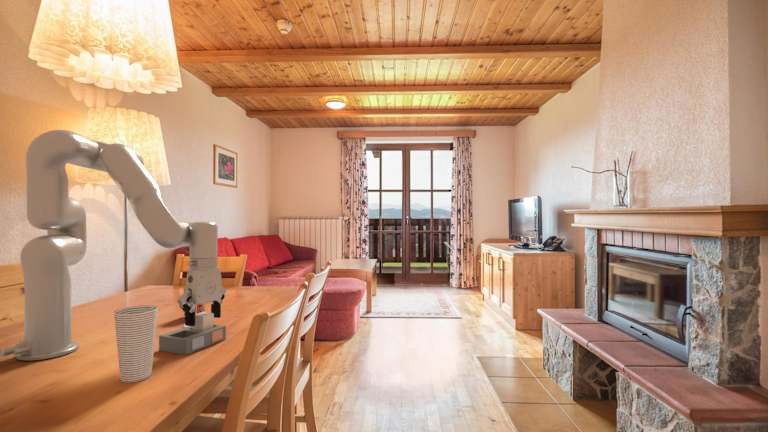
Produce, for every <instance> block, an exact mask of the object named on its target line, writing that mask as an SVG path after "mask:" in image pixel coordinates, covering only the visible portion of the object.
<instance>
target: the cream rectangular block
mask: <svg viewBox="0 0 768 432" xmlns="http://www.w3.org/2000/svg"><path fill="white" fill-rule="evenodd" d="M214 319H215V317H214V313H211V312H207V311H205V312H201V313H198V314H195V326H193V330H200V331H205V330H208V329H210V328H213V327H214V324H215V321H214Z"/></svg>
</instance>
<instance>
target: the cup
mask: <svg viewBox="0 0 768 432" xmlns="http://www.w3.org/2000/svg"><path fill="white" fill-rule="evenodd" d="M158 309H159V308H158V306H155V305H135V306H128V307H123V308H118V309H117V310H115V311H113V316H114V326H115V336H116V345H117V346H116V347H117V356H118V357H117V358H118V366H119V377H120V382H122V383H135V382H136V383H137V382H140V381H141V382H142V381H143V380H146V379H148V378H150V377H151V376H152V373H153V371H152V370H153V361H154V351H155V340H156V332H157V330H156V329H157V321H158Z"/></svg>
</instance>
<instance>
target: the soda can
mask: <svg viewBox="0 0 768 432" xmlns="http://www.w3.org/2000/svg"><path fill="white" fill-rule="evenodd" d="M185 289H186V286H185V287H184V289H183V294H184V293H185ZM186 303H187V302H186ZM191 305H192V304H191ZM191 305H190V307H191ZM193 312H195V314H198V313H201V312H206V303H205V304H197V306H196V307H195V309H194V311H193ZM183 316H184V317H185V312H183Z"/></svg>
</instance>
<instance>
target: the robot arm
mask: <svg viewBox="0 0 768 432" xmlns="http://www.w3.org/2000/svg"><path fill="white" fill-rule="evenodd" d="M66 164H68V165H69V164H70V165H74V166H78V167H82V168H87V169H91V170H95V171H100V172H104V173H107V174H108V175H109V177H110V178H111V179H112V181H113V182H114V183H115V185H116V186H117V187H118V189H119V190H120V191H121V192H122V193H123V195H124V197H126V199H127V201H129V203H130V206H131V209H132V210H133V212H134V214H135V216H136V217H137V220H138V221H139V222H140V224H141V225H142V227H143V228H144V229H145V231H146V232H147V234H149V236H150V237H151V238H152V239H153V241H154V242H155V243H156V244H157V245H159V246H160V247H162V248H165V249H174V248H178V247H181V246H189V261H188V262H187V265H188V267H189V268H188V270H187V274H186V281H185V287H186V289H185V288H184V289H185V293H184V292H183V294H182V295H180V296H179V297H178V298H177V303H178V305H179V308H180V309H181V310H182V312H183V313H184V312H185V316H184V324H185V325H186V326H195V312H193V311H194V309H195V307H196V306H197V304H205V305H206V304H207V303H211V304H210V313H214V319H215V318H217V319H221V314H222V312H221V311H222V309H221V308H222V307H221V305H222V304H223V301H224V299H225V297H226V292H227V288H226V287H224V286H223V283H222V282H223V280H222V274H221V273H222V272H221V269H220V266H218V261H219V260H218V255H219V254H218V251H219V250H218V248H219V247H218V246H219V245H218V242H219V241H218V235H219V234H218V233H219V232H218V225H217V223H216V222H214V221H195V222H188V221H181V220H176V219H175V217H174V216H173V215H172V213H170V210H168V208H167V206H165V204H164V202H163V199H162V197H161V196H162V195H161V190H160V189H161V188H160V186H159V184H158V183H157V182H156V180H155V178H153V176H152V175H151V174H150V172H149V171H148V170H147V168H146V167H145V166H144V159H143V157H142V155H141V154H140V152H138V151H137V150H135V149H133V148H132V147H130V146H127V145H125V144H123V143H117V142H116V143H115V142H114V143H110V144H109V143H106V142H101V141H98V140H94V139H91V138H88V137H87V136H84V135H82V134H79V133H77V132H74V131H70V130H68V129H67V130H65V129H53V130H48V131H46V132H43V133H41V134H39V135H37V136H36V137H35V138H34V139H33V140H31V142H30V143H29V146H28V147H27V150H26V153H25V171H26V172H25V173H26V188H25V189H26V219H27V221H28V223H29V224H30V225H31V227H34V228H36V229H38V230H44V231H47V234H45V235H39V236H37V237H34V238H32V239H30V240H29V241H27V242H26V243H25V245H23V247H22V249H21V251H20V265H21V269H22V273H23V282H24V283H23V284H24V285H23V286H24V287H23V289H24V337H23V339H22V338H21V339H19V343H15V345H13V346H8V347H5V348H1V349H0V356H1V357H6V356H10V355H12V354H13V356H15V357H16V360H19V361H27V362H28V361H32V362H33V361H40V360H47V359H53V358H58V357H61V356H64V355H68V354H70V353H72V352H75V351H77V350H78V349H79V343H78V342H77V341H74V340H72V280H71V275H70V272H69V267H71V266H74V265H76V264H78V263H79V262H81V260H83V259H84V257H85V255H86V251H87V214H86V213H87V212H86V211H85V210H86V209H85V208H84V206H83V205H82V203H81V201H79V200H77V199H75V198H73V197H71V196H69V178H68V177H69V176H68V174H67V173H68V172H67V171H66ZM186 302H187V303H186ZM191 304H192V305H191ZM190 305H191V307H190Z"/></svg>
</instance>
